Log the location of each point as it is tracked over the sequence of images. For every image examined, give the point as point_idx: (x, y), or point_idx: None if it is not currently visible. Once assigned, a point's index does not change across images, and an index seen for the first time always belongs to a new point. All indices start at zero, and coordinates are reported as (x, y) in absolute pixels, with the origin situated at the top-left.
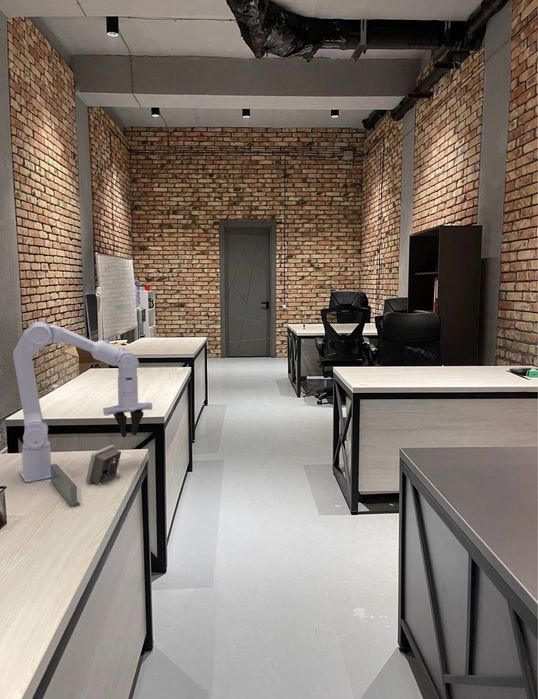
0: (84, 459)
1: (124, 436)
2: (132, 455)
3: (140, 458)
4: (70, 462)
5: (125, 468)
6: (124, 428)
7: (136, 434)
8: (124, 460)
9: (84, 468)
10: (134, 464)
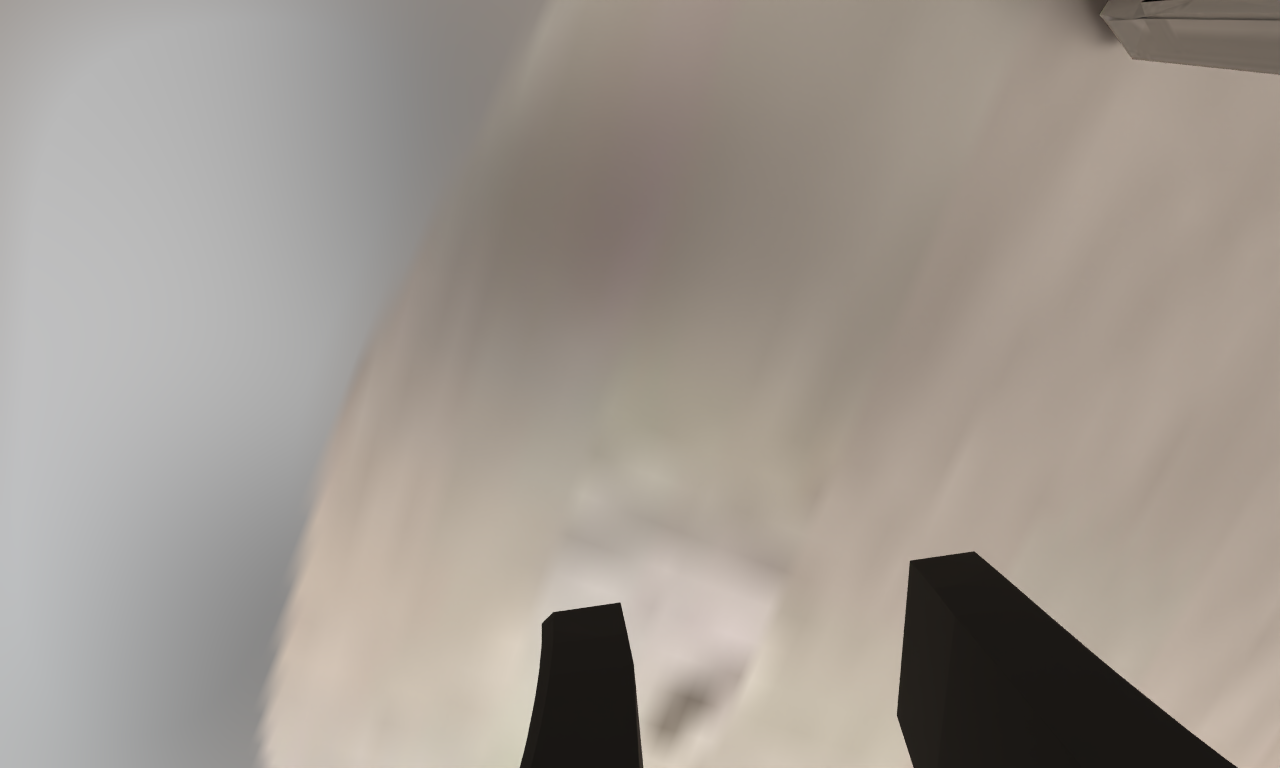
0: None
1: (972, 563)
2: (454, 659)
3: (363, 501)
4: (1257, 670)
5: (747, 129)
6: (1152, 760)
7: (545, 629)
8: (631, 506)
9: (1253, 405)
10: (537, 264)
